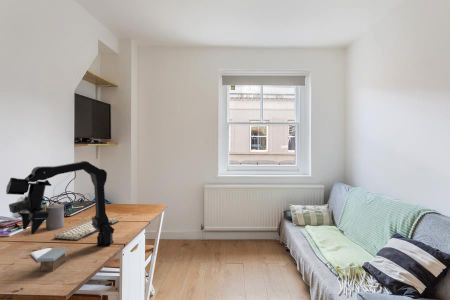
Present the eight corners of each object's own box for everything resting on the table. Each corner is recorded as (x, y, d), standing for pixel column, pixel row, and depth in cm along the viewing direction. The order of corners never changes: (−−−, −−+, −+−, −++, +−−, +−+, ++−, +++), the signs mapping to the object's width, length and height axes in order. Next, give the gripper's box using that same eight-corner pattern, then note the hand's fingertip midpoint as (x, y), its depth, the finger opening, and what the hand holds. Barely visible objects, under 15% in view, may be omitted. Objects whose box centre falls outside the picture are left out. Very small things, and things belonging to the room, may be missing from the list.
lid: (67, 251, 119) (67, 248, 119) (53, 261, 109) (53, 258, 109) (52, 251, 119) (52, 248, 119) (37, 261, 108) (37, 258, 108)
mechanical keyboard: (81, 242, 143) (81, 236, 143) (50, 240, 146) (50, 234, 146) (120, 222, 181) (119, 217, 181) (94, 221, 184) (94, 216, 183)
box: (64, 261, 118) (64, 251, 118) (53, 271, 110) (53, 260, 109) (53, 262, 118) (53, 252, 118) (40, 271, 109) (40, 260, 109)
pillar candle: (42, 228, 165) (42, 204, 165) (58, 224, 174) (58, 201, 174) (51, 231, 161) (51, 206, 160) (67, 226, 169) (67, 203, 169)
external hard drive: (50, 250, 132) (58, 257, 124) (30, 255, 126) (38, 263, 118) (50, 247, 132) (58, 254, 124) (30, 252, 126) (38, 259, 118)
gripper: (6, 191, 115) (-2, 228, 113) (21, 197, 104) (13, 238, 103) (35, 192, 124) (28, 226, 122) (52, 198, 113) (45, 235, 112)
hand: (28, 231), depth 114 cm, fingers open, 9 cm apart
